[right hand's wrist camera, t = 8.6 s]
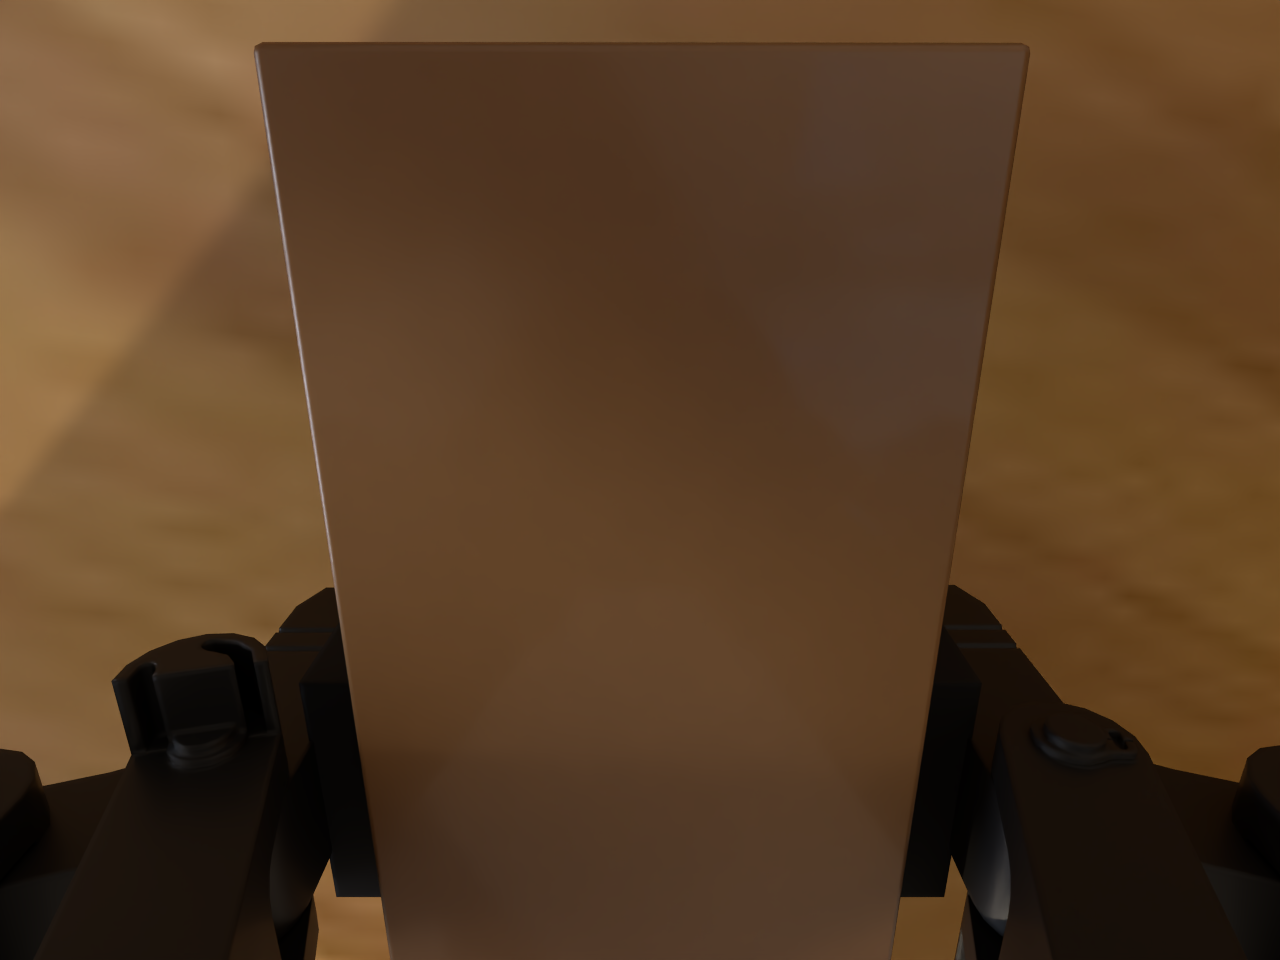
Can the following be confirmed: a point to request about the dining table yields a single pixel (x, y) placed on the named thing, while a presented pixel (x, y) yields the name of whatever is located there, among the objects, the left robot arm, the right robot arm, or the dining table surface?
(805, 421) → the bar
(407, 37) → the dining table surface
